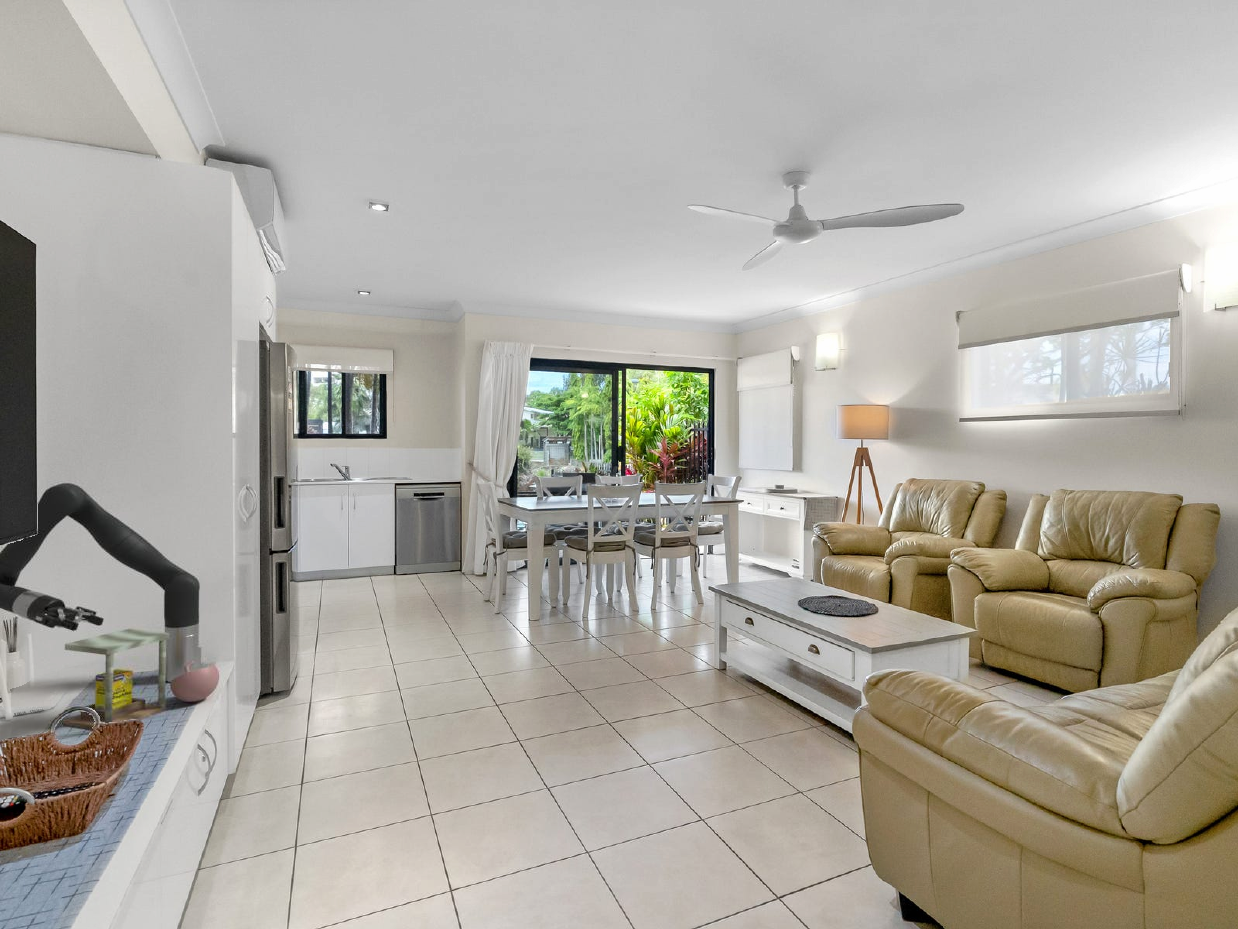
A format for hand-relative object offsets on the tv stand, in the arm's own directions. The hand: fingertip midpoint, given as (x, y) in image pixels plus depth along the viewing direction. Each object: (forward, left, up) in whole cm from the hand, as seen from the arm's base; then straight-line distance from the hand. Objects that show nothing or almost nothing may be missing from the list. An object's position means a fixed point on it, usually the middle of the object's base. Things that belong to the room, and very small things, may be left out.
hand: (89, 624), depth 187 cm
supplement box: (+4, +16, -22) cm, 27 cm away
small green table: (+5, +16, -23) cm, 28 cm away
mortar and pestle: (-11, +26, -23) cm, 37 cm away
